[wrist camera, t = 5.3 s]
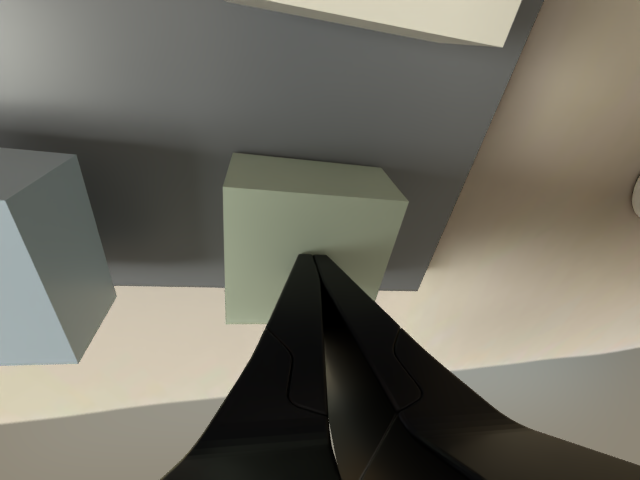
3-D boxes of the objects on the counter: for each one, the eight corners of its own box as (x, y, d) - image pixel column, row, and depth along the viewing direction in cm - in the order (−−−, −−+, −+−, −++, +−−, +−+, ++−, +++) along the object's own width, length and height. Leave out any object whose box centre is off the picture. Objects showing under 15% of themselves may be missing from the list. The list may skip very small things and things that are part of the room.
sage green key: (381, 167, 10) (409, 201, 8) (351, 276, 13) (367, 323, 11) (232, 152, 9) (222, 186, 7) (233, 273, 12) (225, 324, 10)
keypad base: (594, -218, 7) (660, -268, 6) (405, 270, 15) (417, 291, 14) (-863, -839, 3) (-1506, -1333, 2) (-89, 254, 12) (-132, 280, 10)
